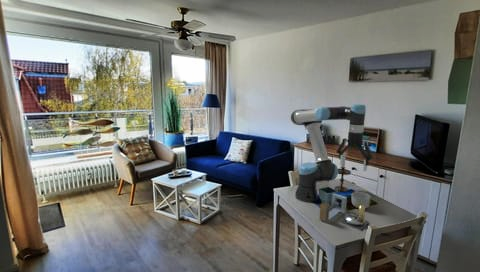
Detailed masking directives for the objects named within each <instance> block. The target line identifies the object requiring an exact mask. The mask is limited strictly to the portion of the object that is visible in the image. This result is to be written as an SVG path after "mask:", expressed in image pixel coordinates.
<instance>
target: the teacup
mask: <svg viewBox="0 0 480 272" xmlns="http://www.w3.org/2000/svg"><path fill="white" fill-rule="evenodd" d="M350 198H351V204H352V206H353V207H354V208H356V209H358V210H359V205H364V206H365V209H367V208H369V207H370V203H371V195H370V194H368V193H367V192H363V191H362V192H361V191H358V190H354V191H353V192H352V193H351V197H350Z"/></svg>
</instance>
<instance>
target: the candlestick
mask: <svg viewBox="0 0 480 272" xmlns="http://www.w3.org/2000/svg"><path fill="white" fill-rule="evenodd" d="M346 146H347V144H345V145H344V147H343V148H345V147H346ZM346 153H347V150H346V151H345V152H344V153H343V154H344V163H343V165H342V166H340V168H338V175H341V177H340V179H339V180H340V181H339V183H340V185H336V186H334V190H336V191H338V193H347V192H349V189H348V187H345V186H343V185H344V181H345V179H344V176H349V175H351V174H352V171H351V170H349V169H347V167H345V165H346V156H347V154H346Z"/></svg>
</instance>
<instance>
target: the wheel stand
mask: <svg viewBox="0 0 480 272" xmlns="http://www.w3.org/2000/svg"><path fill="white" fill-rule="evenodd" d="M339 222H340V224H343V225H346V226H348V227H352V228H354V229H357V230H359V231H362V230H363V229H364V228H365V226H367V225H368V223H369V221H368V220H366V219H365V223H364V224H363V225H353V224H350V223H348V222H347V221H346V220H345V217H343V218H342V219H341V220H340V221H339Z"/></svg>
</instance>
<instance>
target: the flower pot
mask: <svg viewBox="0 0 480 272" xmlns="http://www.w3.org/2000/svg"><path fill="white" fill-rule="evenodd" d="M334 193H335V194H338V193H339V191H336V190H335V188H333V187H330V186H326V187H325V186H324V187H321V188H318V198H319V200H320V201H321V203H323V202H325V203H328V204H330V205H331V203H332V194H334ZM338 195H339V194H338Z"/></svg>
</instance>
